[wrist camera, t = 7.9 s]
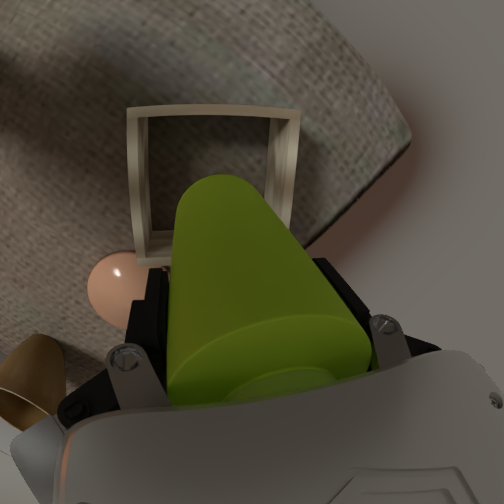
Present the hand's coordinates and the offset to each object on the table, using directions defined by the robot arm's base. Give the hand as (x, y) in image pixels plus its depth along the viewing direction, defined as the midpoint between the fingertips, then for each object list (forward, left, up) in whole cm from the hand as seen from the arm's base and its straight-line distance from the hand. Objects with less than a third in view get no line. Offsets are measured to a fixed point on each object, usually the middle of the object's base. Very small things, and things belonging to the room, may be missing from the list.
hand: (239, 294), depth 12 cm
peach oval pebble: (+16, -11, -23) cm, 30 cm away
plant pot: (+28, -31, -24) cm, 48 cm away
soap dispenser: (0, 0, -8) cm, 8 cm away
